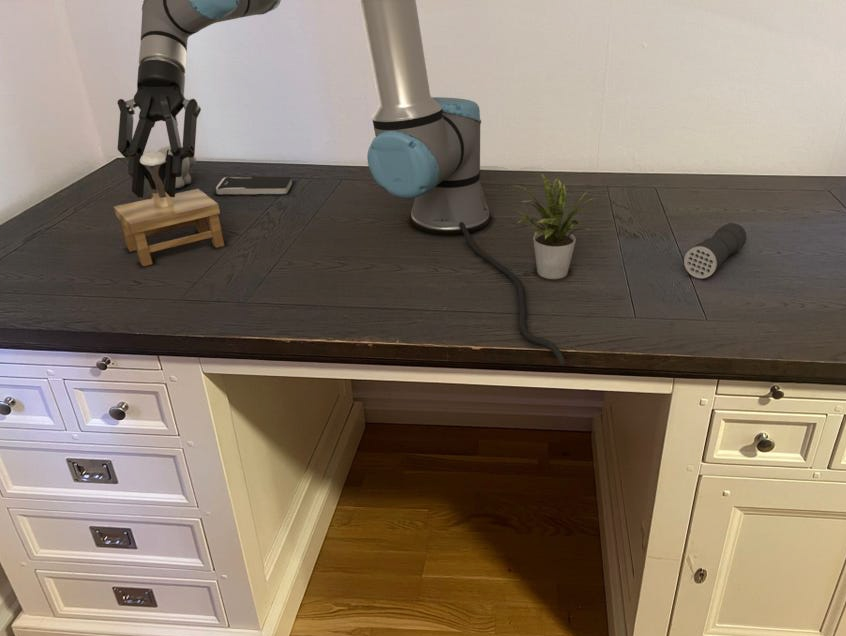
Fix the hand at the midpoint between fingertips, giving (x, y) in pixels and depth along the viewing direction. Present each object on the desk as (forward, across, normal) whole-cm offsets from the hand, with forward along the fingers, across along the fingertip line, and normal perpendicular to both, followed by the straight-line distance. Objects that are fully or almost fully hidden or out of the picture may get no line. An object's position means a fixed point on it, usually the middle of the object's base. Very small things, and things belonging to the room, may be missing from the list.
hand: (153, 193), depth 121 cm
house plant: (+14, -66, -2) cm, 68 cm away
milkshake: (0, 0, -5) cm, 5 cm away
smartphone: (-16, -8, -33) cm, 37 cm away
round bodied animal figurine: (-20, +9, -36) cm, 43 cm away
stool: (+6, 0, -11) cm, 12 cm away
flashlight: (+13, -96, -3) cm, 97 cm away
